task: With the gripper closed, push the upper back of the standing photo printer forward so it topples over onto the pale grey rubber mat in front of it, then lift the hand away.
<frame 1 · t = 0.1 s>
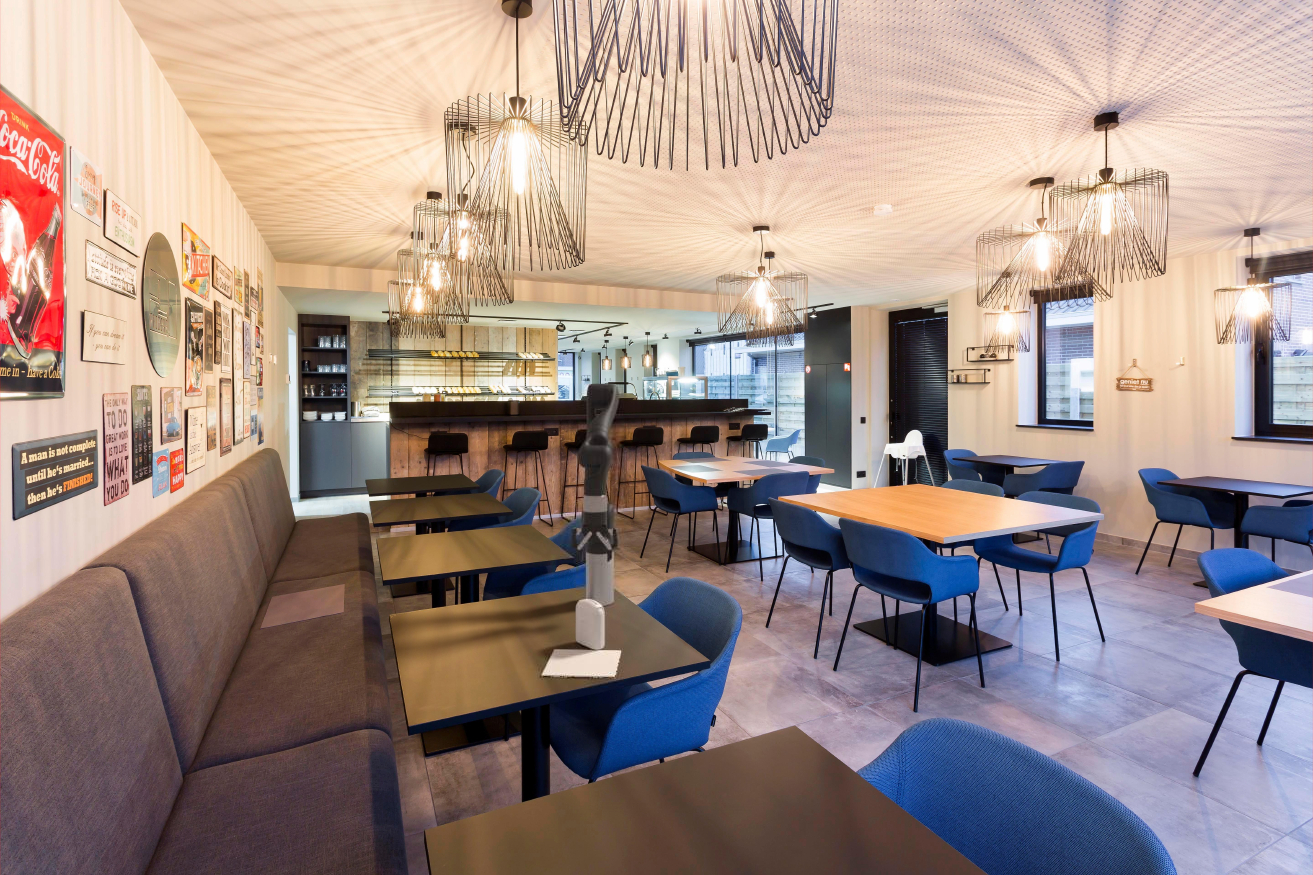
hand: (594, 561, 197), 17 cm above the table, tool pointing down, fingers open, 8 cm apart
mat: (583, 663, 162), on the table
photo printer: (589, 645, 174), on the table, touching mat
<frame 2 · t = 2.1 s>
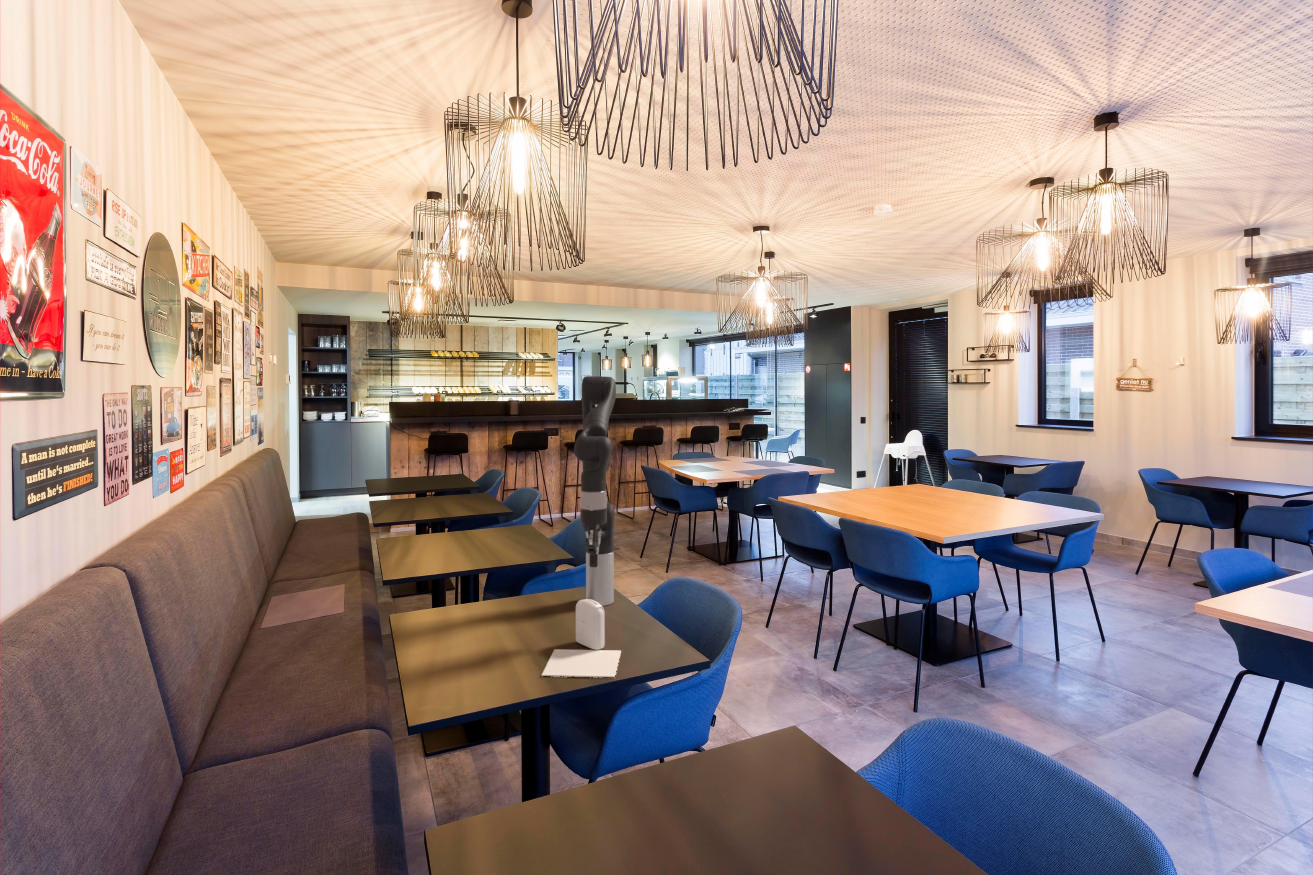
hand: (593, 566, 181), 20 cm above the table, tool pointing down, fingers closed
nothing on the table moved.
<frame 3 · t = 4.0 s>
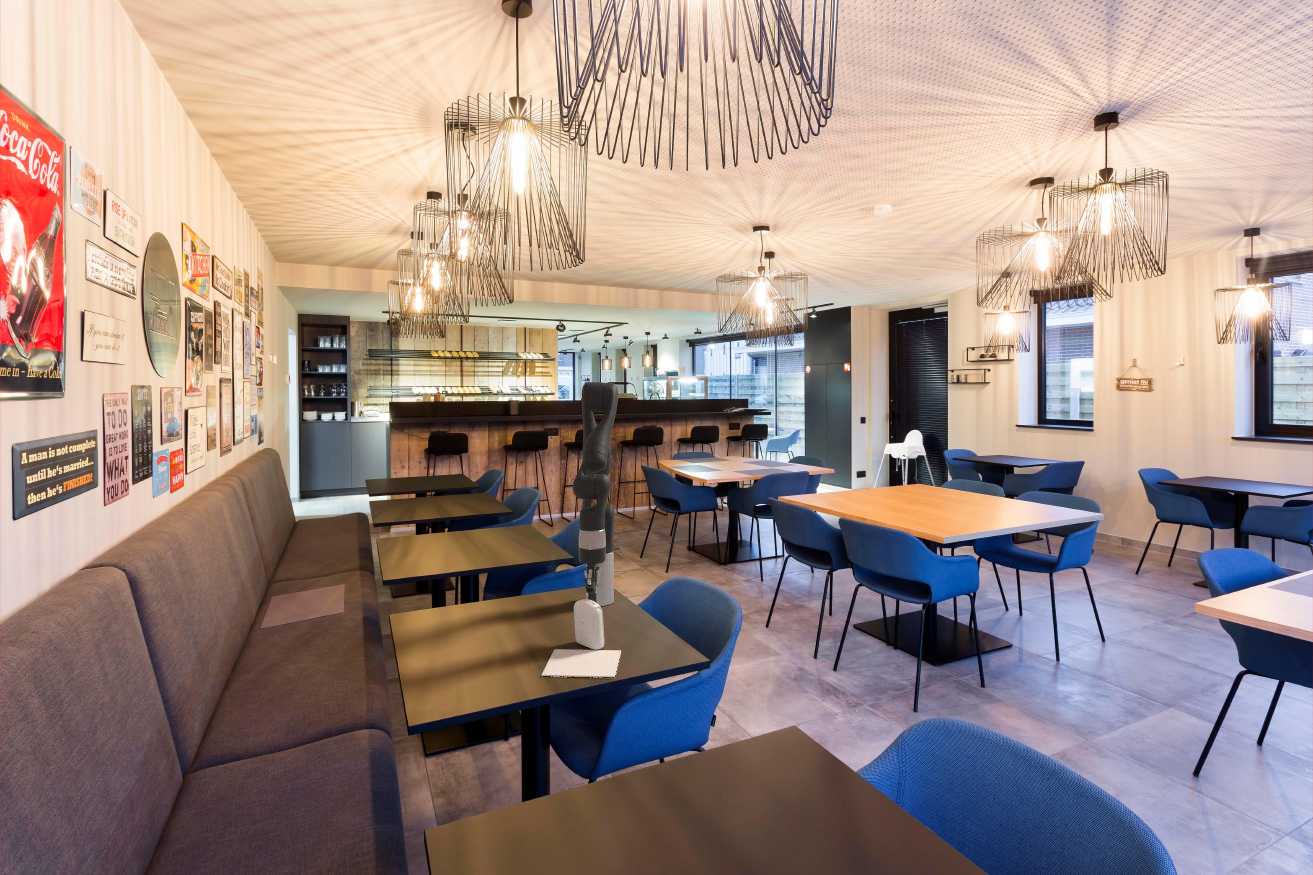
hand: (592, 605, 178), 10 cm above the table, tool pointing down, fingers closed
nothing on the table moved.
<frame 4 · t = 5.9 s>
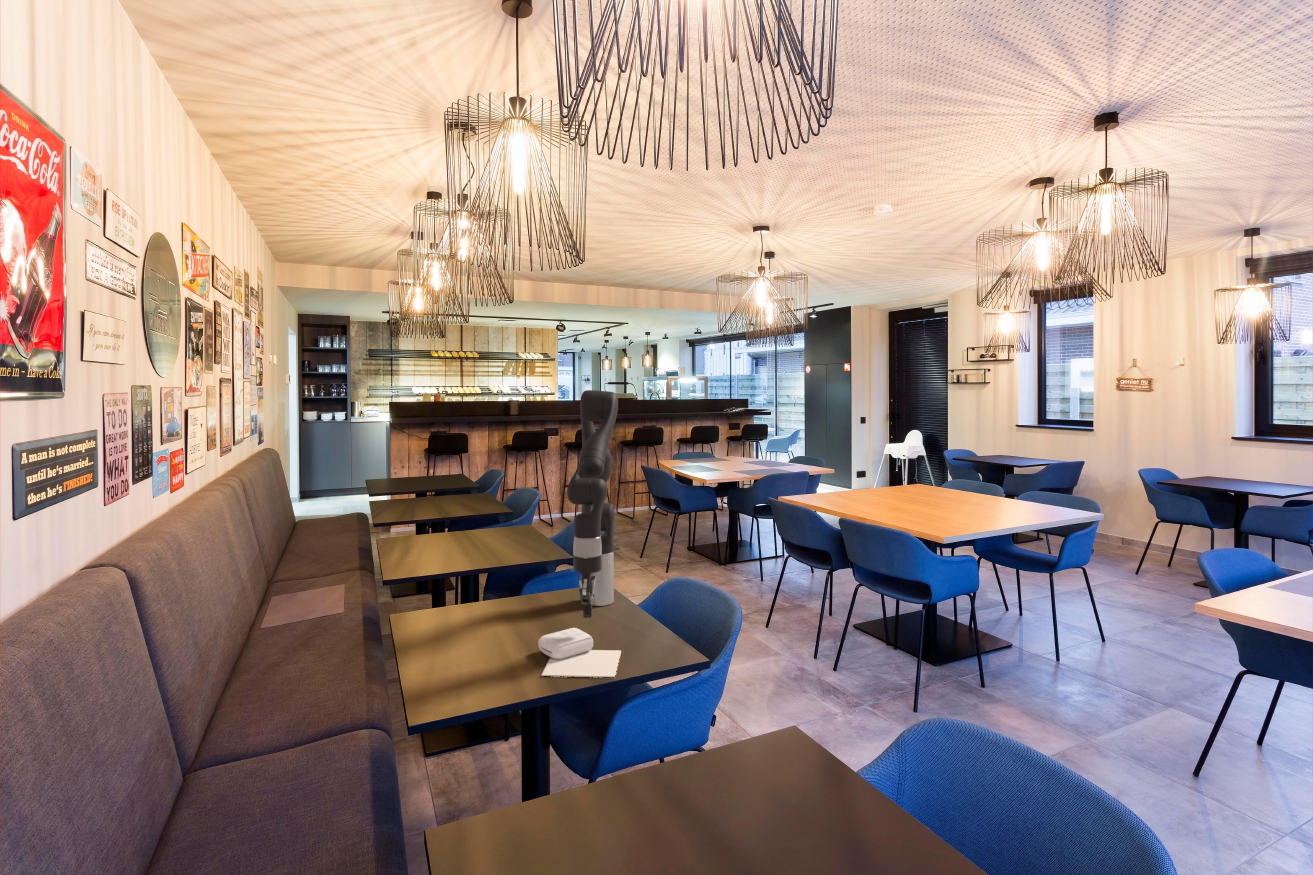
hand: (587, 616, 169), 10 cm above the table, tool pointing down, fingers closed
photo printer: (584, 637, 172), point 3 cm above the table, touching mat
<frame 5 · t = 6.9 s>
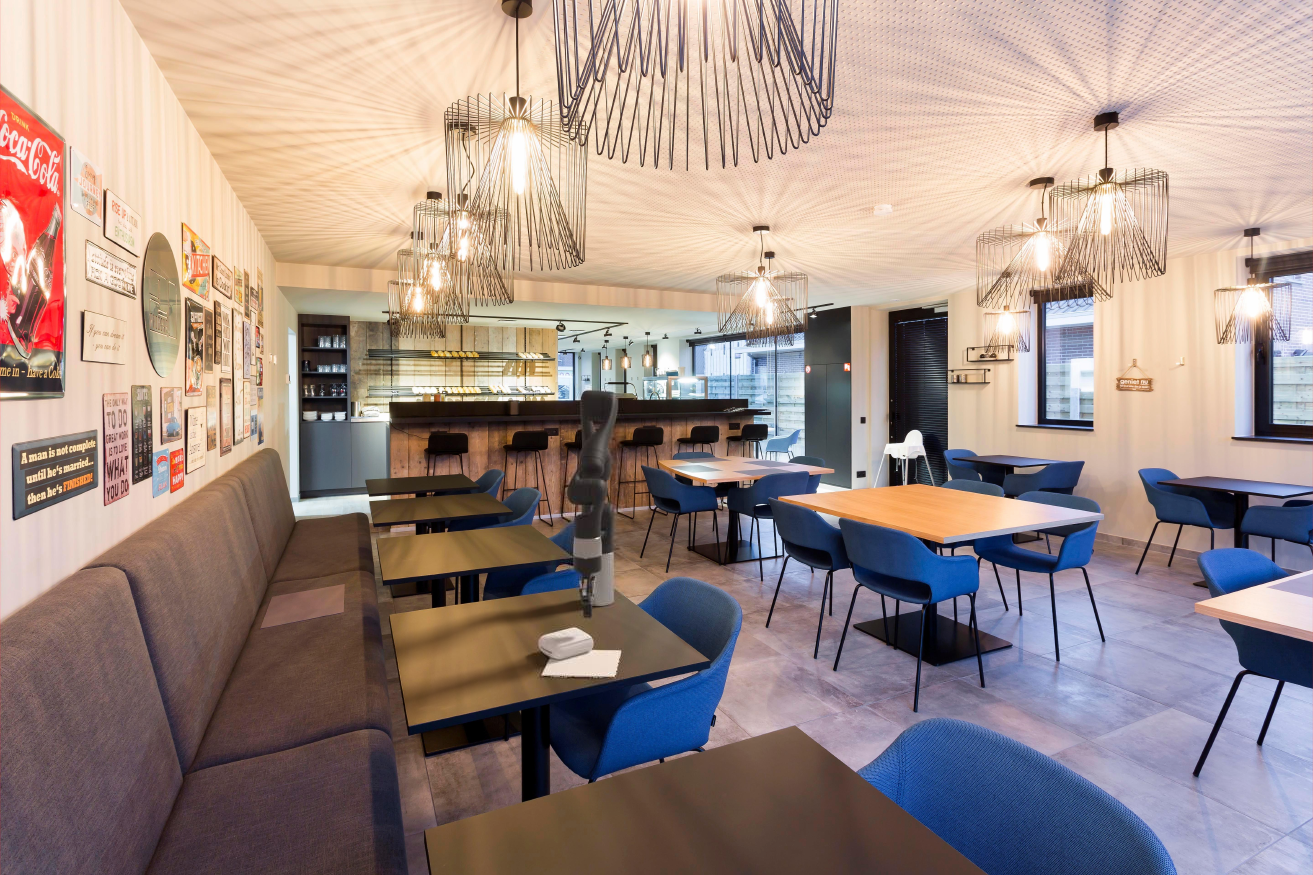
hand: (587, 616, 170), 9 cm above the table, tool pointing down, fingers closed
nothing on the table moved.
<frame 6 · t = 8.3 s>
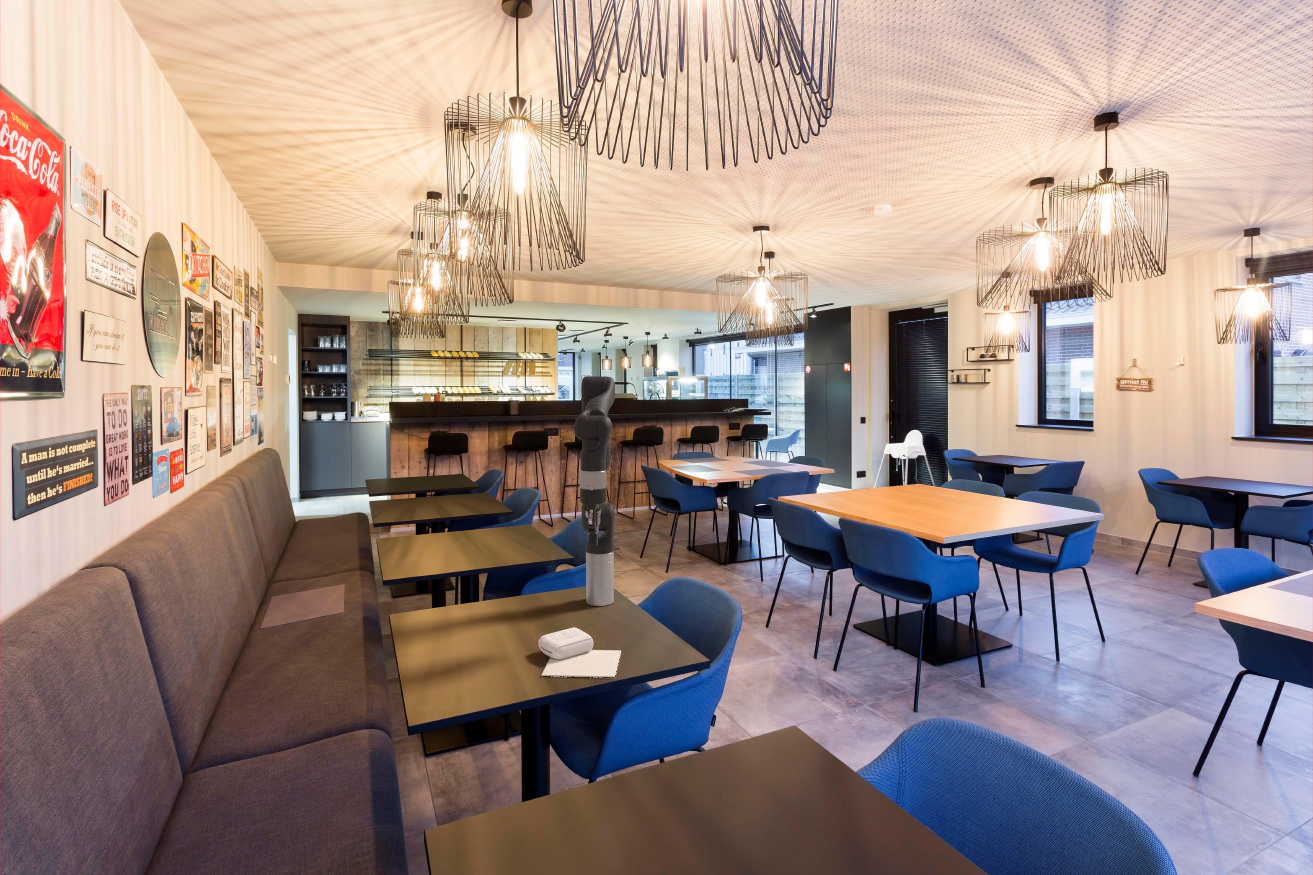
hand: (593, 546, 180), 26 cm above the table, tool pointing down, fingers closed
nothing on the table moved.
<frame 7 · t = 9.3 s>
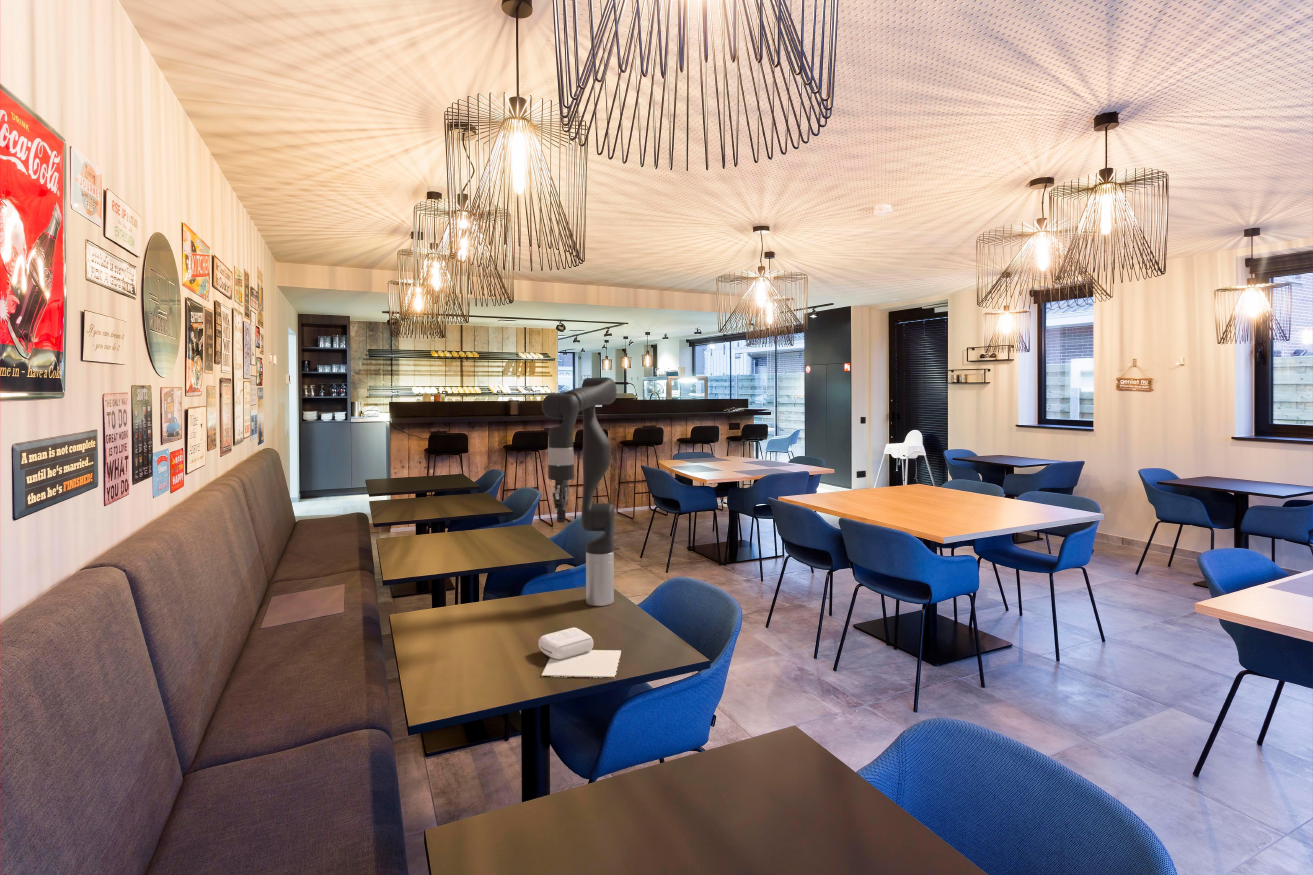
hand: (561, 521, 184), 32 cm above the table, tool pointing down, fingers closed
nothing on the table moved.
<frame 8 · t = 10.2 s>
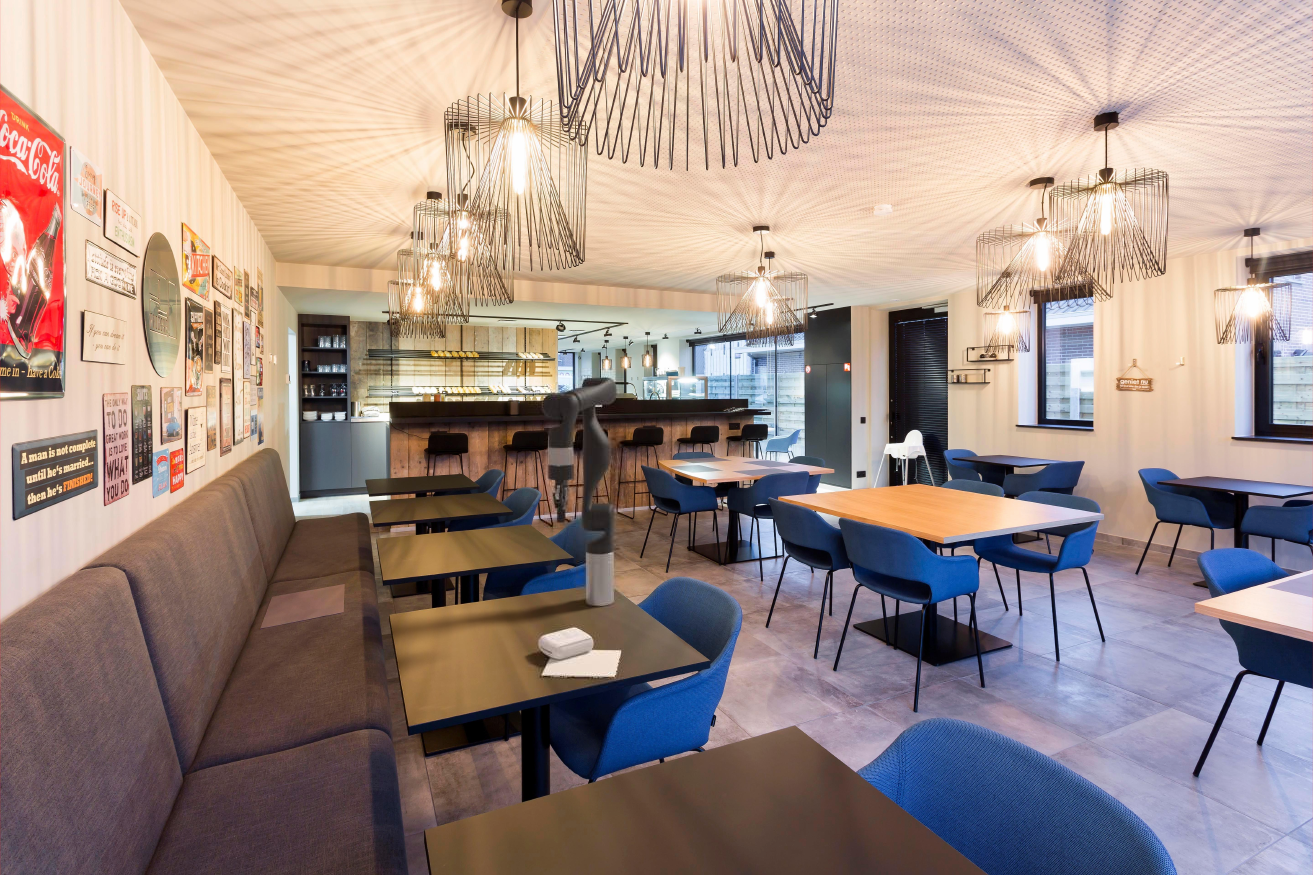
hand: (561, 521, 184), 32 cm above the table, tool pointing down, fingers closed
nothing on the table moved.
at the end: photo printer tilted 91°; photo printer touching mat; photo printer inside the target area (4.0 cm from its centre), point 2.7 cm above the table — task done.
